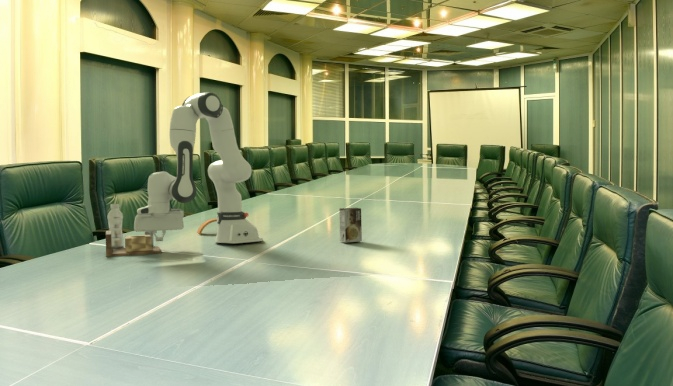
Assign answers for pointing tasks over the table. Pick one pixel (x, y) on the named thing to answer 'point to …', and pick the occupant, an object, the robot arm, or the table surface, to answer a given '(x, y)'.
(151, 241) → the dowel
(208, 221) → the arch
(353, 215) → the coffee box
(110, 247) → the jig
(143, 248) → the tan square frame
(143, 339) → the table surface
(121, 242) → the plastic bottle
